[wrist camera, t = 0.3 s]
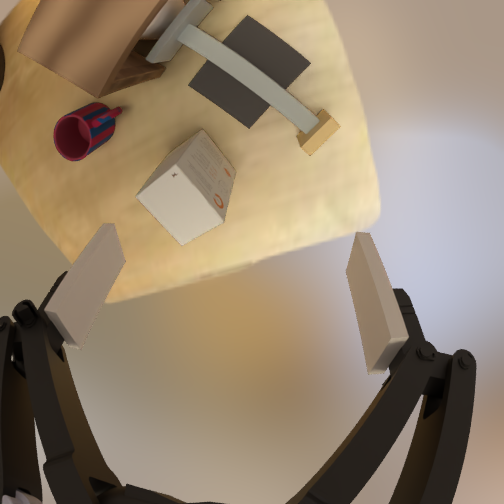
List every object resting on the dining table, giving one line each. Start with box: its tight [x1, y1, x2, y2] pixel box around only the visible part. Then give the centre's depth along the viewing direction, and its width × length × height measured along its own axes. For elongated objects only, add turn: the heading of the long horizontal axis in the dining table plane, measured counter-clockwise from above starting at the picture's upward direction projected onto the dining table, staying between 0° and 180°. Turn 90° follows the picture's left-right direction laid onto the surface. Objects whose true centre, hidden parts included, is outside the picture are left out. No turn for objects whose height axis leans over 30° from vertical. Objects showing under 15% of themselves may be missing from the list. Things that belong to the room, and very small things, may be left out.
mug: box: [54, 103, 122, 161], centre depth 32 cm, size 7×10×7 cm
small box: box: [135, 129, 236, 246], centre depth 34 cm, size 8×6×13 cm
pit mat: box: [188, 15, 311, 129], centre depth 31 cm, size 10×12×1 cm
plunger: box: [146, 0, 341, 156], centre depth 28 cm, size 22×9×6 cm, turn 51°
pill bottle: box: [140, 0, 185, 40], centre depth 21 cm, size 8×8×11 cm
